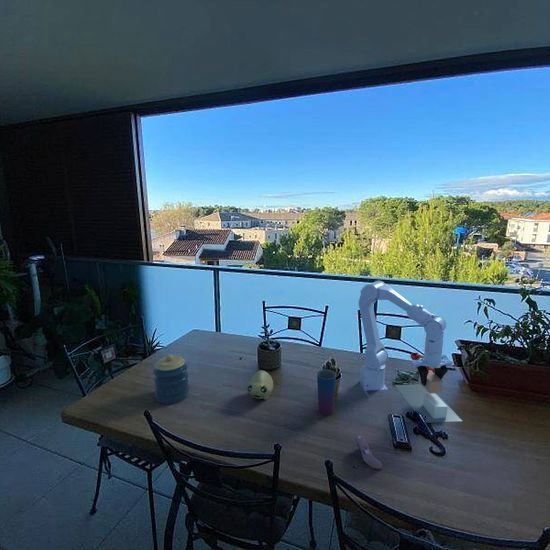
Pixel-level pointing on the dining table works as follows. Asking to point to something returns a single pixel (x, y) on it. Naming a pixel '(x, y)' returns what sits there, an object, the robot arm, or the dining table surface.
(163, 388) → the canister
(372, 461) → the pink curved figurine
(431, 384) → the tan rectangular block
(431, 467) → the dining table surface
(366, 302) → the robot arm
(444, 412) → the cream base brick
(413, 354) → the toy fire truck
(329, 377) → the cup
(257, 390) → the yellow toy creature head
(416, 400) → the baseplate
